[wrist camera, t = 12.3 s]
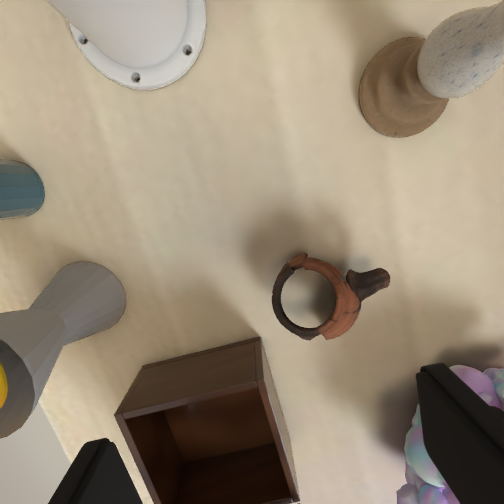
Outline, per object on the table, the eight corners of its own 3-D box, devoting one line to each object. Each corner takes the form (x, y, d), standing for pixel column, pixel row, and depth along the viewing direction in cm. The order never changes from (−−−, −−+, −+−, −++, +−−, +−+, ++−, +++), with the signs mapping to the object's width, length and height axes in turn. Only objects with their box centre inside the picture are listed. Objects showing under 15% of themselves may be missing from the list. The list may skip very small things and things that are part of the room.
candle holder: (395, 156, 30) (673, 102, 10) (340, 92, 29) (541, -113, 9) (463, 91, 29) (930, -114, 9) (408, 20, 27) (825, -410, 8)
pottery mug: (308, 342, 36) (287, 362, 28) (276, 273, 38) (249, 274, 30) (406, 303, 31) (411, 314, 24) (363, 228, 33) (355, 217, 26)
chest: (142, 365, 35) (113, 415, 28) (260, 336, 35) (264, 378, 27) (182, 463, 39) (166, 531, 31) (290, 438, 38) (300, 501, 31)
